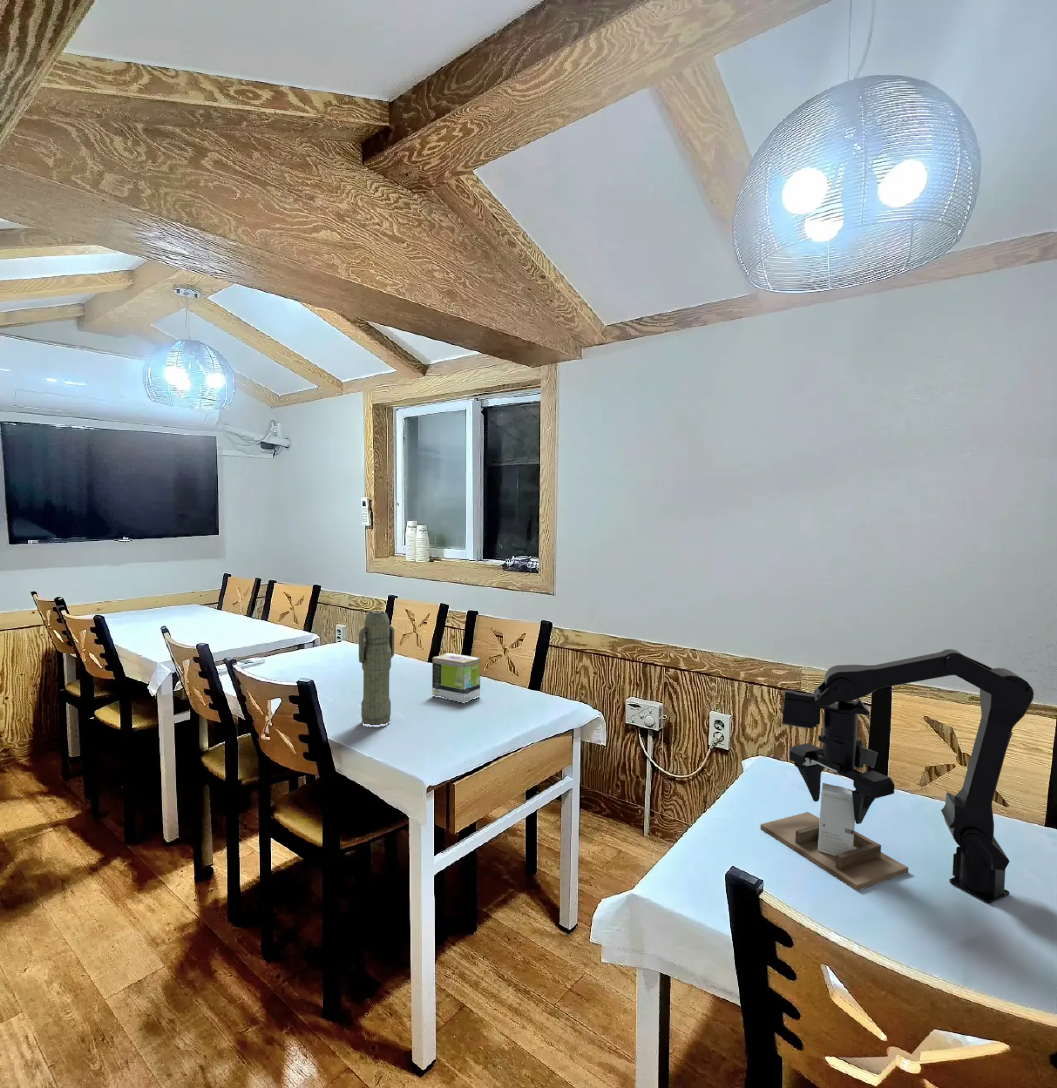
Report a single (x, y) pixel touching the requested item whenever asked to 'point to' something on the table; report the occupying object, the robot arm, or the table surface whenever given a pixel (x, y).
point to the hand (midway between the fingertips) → (836, 811)
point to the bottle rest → (850, 866)
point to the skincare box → (836, 820)
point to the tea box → (456, 677)
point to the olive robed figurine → (376, 667)
